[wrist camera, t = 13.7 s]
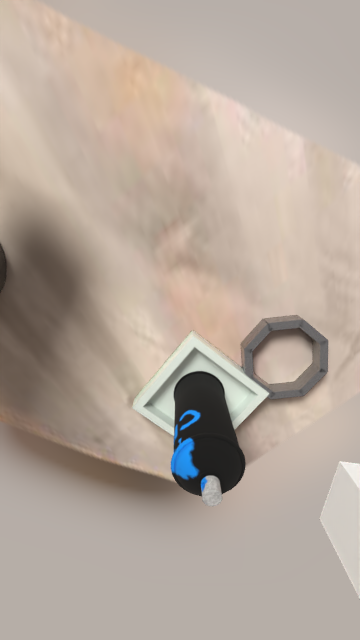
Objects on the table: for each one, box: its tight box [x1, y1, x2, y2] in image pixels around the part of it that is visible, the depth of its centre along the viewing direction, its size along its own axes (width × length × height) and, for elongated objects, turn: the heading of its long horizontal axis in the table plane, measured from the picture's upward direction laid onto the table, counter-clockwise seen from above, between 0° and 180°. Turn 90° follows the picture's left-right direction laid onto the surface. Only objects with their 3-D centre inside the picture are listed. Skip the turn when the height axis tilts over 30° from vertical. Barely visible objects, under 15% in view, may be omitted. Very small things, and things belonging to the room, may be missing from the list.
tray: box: [132, 330, 269, 436], centre depth 47 cm, size 15×15×3 cm
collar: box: [241, 315, 328, 399], centre depth 46 cm, size 12×12×2 cm
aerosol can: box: [171, 371, 245, 506], centre depth 38 cm, size 8×8×20 cm
